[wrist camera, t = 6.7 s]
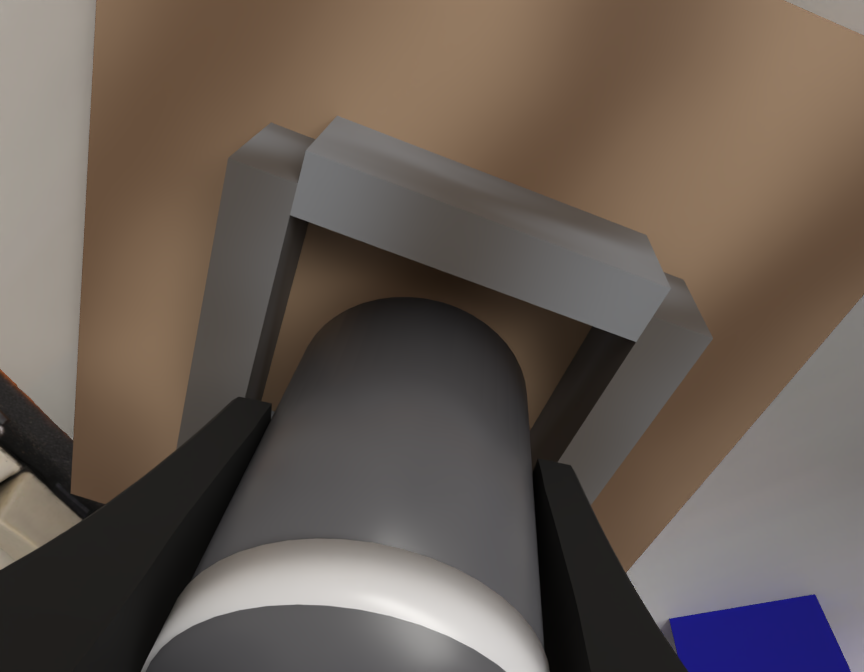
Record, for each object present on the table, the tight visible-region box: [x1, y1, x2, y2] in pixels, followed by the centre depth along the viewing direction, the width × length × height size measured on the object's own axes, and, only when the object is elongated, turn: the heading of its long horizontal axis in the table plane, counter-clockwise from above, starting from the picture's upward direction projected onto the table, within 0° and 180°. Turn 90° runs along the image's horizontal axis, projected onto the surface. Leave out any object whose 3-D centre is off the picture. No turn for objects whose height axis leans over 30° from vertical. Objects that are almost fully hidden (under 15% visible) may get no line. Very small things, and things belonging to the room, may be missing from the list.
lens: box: [141, 297, 550, 672], centre depth 10 cm, size 5×5×7 cm
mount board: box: [71, 0, 864, 572], centre depth 15 cm, size 16×18×4 cm
